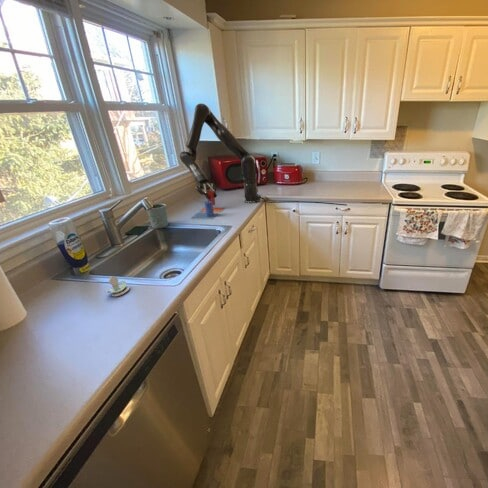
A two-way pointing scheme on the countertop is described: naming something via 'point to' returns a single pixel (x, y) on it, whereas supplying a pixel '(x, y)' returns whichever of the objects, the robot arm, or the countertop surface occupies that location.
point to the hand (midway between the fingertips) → (212, 197)
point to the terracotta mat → (215, 209)
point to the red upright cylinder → (211, 197)
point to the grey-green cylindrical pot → (158, 216)
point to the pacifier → (117, 287)
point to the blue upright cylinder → (209, 209)
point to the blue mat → (203, 215)
